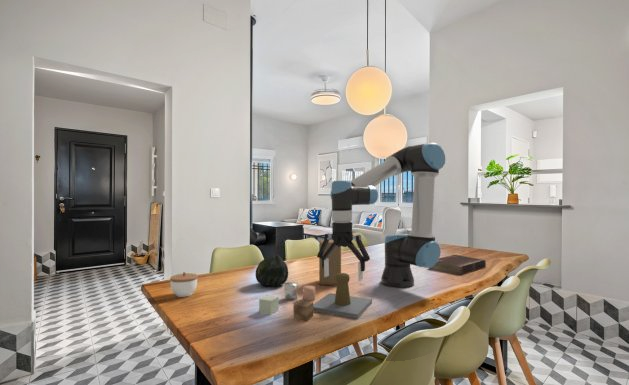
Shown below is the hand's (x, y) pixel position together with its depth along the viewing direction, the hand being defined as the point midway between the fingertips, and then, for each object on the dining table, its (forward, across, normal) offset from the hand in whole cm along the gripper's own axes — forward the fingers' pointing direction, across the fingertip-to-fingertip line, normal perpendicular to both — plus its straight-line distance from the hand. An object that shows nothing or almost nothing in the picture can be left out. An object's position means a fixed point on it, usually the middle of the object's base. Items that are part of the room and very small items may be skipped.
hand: (343, 278), depth 123 cm
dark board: (+11, 0, +1) cm, 11 cm away
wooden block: (+11, +17, -28) cm, 35 cm away
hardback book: (+14, -36, -89) cm, 97 cm away
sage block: (+10, +22, +17) cm, 30 cm away
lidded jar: (+10, +65, +16) cm, 68 cm away
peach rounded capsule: (+10, +15, -1) cm, 19 cm away
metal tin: (+10, +22, +1) cm, 25 cm away
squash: (+11, +40, -13) cm, 44 cm away
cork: (+9, 0, +1) cm, 9 cm away
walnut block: (+10, +8, +17) cm, 21 cm away
